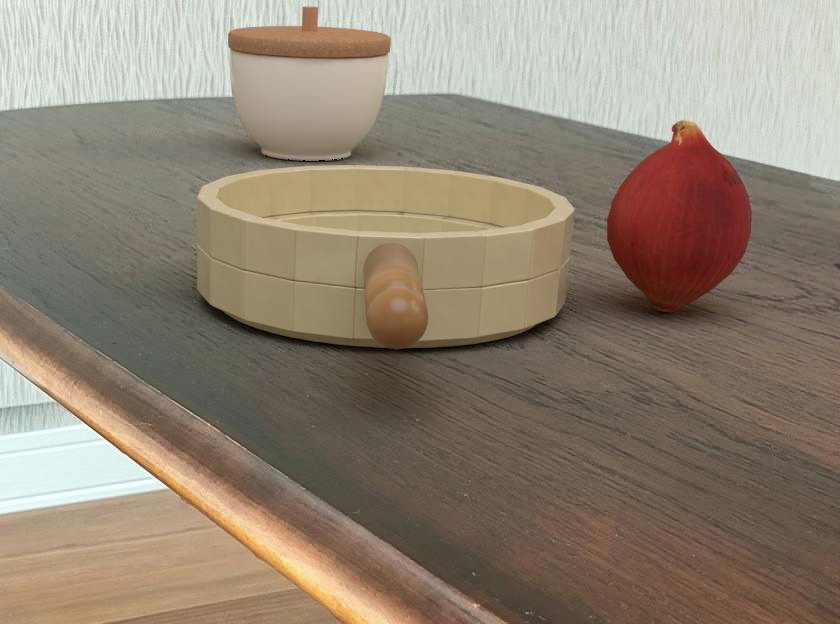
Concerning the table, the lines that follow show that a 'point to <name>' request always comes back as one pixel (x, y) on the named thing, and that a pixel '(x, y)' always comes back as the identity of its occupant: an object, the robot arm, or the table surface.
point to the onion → (680, 220)
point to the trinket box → (307, 86)
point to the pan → (372, 226)
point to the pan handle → (394, 296)
